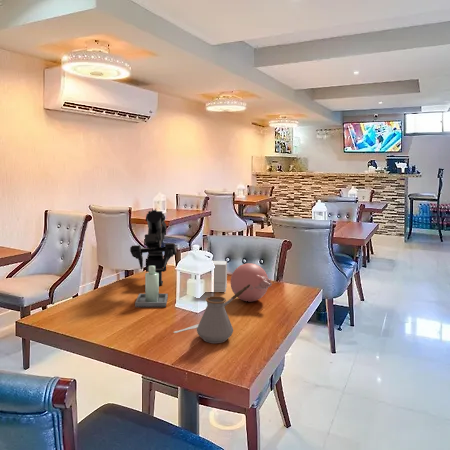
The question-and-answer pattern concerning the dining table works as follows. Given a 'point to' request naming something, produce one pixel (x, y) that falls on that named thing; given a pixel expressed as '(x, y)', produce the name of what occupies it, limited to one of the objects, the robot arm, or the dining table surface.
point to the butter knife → (187, 328)
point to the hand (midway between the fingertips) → (152, 268)
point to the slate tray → (142, 303)
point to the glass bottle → (152, 285)
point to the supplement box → (220, 276)
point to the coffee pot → (217, 319)
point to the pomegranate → (250, 282)
